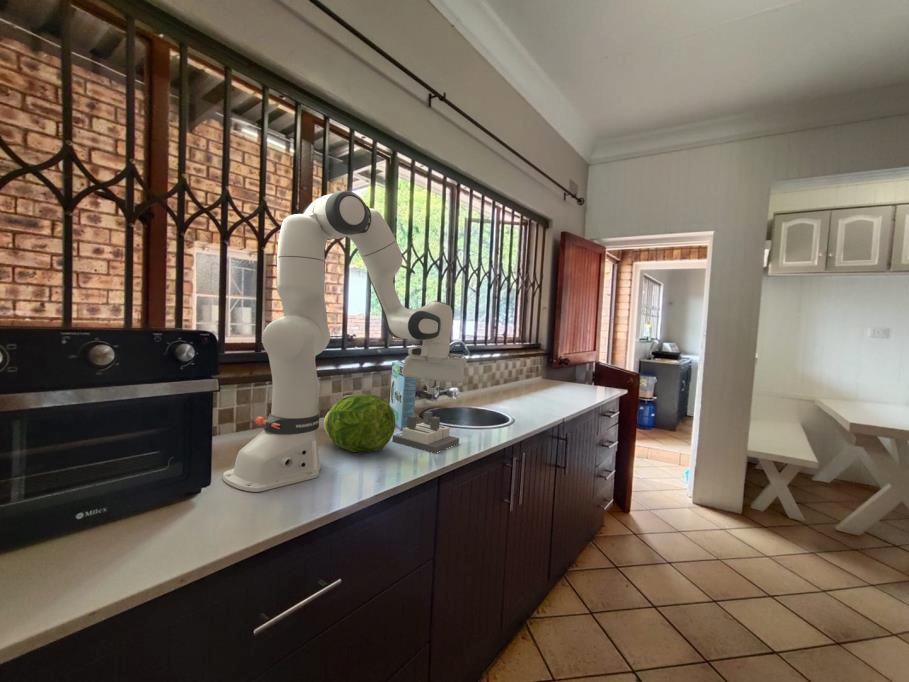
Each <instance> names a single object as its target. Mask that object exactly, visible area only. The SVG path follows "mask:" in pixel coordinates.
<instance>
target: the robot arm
mask: <svg viewBox="0 0 909 682" xmlns="http://www.w3.org/2000/svg"><path fill="white" fill-rule="evenodd" d="M303 209H304V210H303V211H302V213H297V214H296V213H295V214H291V215H289V216H287V217H285V218H284V219H283V221H282V223H281V226H280V231H279V236H278V242H277V243H278V244H277V256H276V258H277V261H276V291H277V292H276V293H277V294H278V296H279V298H280V302H281V307H282V311H283V316H280V317H277V318H276V319H274V320H273V321H271V322H270V323H268V324H267V325H266V327H265V328H264V330H263V332H262V337H261V341H262V346H263V348H264V350H265V352H266V354H267V356H268V361H269V367H270V372H271V379H272V391H271V392H272V393H271V394H272V395H271V408H270V409H271V412H270V413H269V414H268V417H267V418H266V417H263V416H259V415H258V416H257V417H256V418H255V420H254V423H255V424H256V425H259V426H261V427H263V430H261V431H260V432H259V433H258V434H257V435H256V436H255V437H253V438H252V440H250V441H249V442H248V443H246V444H245V445H244V446H242V448H241V449H240V450H239V451H238V452H237V455H236V458H235V463H234V467H233V468H232V469H228V470H225V471H224V472H223V475H222V479H223V481H224V482H225V483H226V484H228V485H229V486H231V487H233V488H236V489H239V490H242V491H246V492H251V493H253V492H255V493H258V492H263V491H268V490H272V489H276V488H279V487H280V488H281V487H284V486H288V485H292V484H295V483H296V484H297V483H300V482H304V481H309V480H311V479H316V478H319V475H320V473H319V471H320V470H321V468H322V464H321V460H320V455H319V454H320V453H319V447H318V446H319V445H318V429H319V427H320V412H319V400H320V388H321V387H320V385H321V383H320V380H319V378H318V372H317V366H316V356H318V355H319V354H321V353H323V351H324V350H325V349H326V348H327V346H328V345H329V343H330V341H331V332H330V329H329V323H328V314H327V307H326V301H325V298H326V297H325V248H326V245H327V242H328V241H330V240H334V239H335V240H339V239H343V238H348V239H349V240H351V241H352V242H353V244H354V245H355V247H356V249H357V251H358V253H359V256H360V257H361V260H362V262H363V263H364V265H365V268H366V270H367V272H368V276H369V280H370V283H371V286H372V289H373V291H374V293H375V295H376V298H377V300H378V303H379V305H380V307H381V309H382V313H383V319H384V326H385V329H386V331H387V333H388V335H390V336H391V337H392V338H394V339H406V340H411V341H422V345H417V346H412V347H410V348H408V352H407V353H408V355H407V356H406V357H405V358H404V362H403V363H404V365H403V370H402V375H403V376H404V377H410V378H416V379H419V380H420V379H422V380H424V381H423V382H424V385H425V387H426V394H431V395H436V394H437V389H438V388H439V386H440V384H441V382H449V383H457V384H461V383H463V381H464V380H465V379H464V378H465V376H464V375H465V368H466V367H467V361H468V360H467V358H466V357H465V356H464V355H463V354H462V353H451V352H450V347H451V339H450V337H451V334H452V333H451V332H452V328H453V309H452V307H451V305H450V304H448V303H445V302H443V301H438V300H437V301H436V300H431V301H429V302H428V303H427V304H426V305H423V306H421V307H417V308H416V309H415V308H407V307H405V306H404V305H403V304H402V303H401V300H400V298H399V295H398V292H397V290H396V287H395V285H394V277H395V276H396V274H398V272H399V271H400V269H401V267H402V265H403V261H404V260H403V255H402V252H401V248H400V245H399V244H398V242H397V239H396V237H395V235H394V234H393V232H392V230H391V228H390V226H389V225H388V223H387V222H386V220H385V219H384V217H383V215H381V213H380V212H379V210H377V209H375V208H372V207H371V208H370V207H369V206H368V205H367V204H366V203H365V201H364V200H363V199H362V198H361V196H359V195H358V194H357V193H355V192H353V191H349V190H337V191H334V192H333V193H330V194H325V195H321V196H320V197H318V198H317V199H315V200H313V201H310V202H309V203H308V205H306V207H305V208H303ZM430 380H431V381H435V386H434V387H430V384H429V383H430Z"/></svg>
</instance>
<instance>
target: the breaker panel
mask: <svg viewBox="0 0 909 682" xmlns="http://www.w3.org/2000/svg"><path fill="white" fill-rule="evenodd" d="M430 424H431V423H429V424H426V423H423V422H420V423H417V424H416V428H412V429H411V428H407V427H406V428H403V430H402V432H400V433H396V434H393V435H392V437H391V439H392V440H391V442H393V443H396V444H400V445H404V446H406V447H410V448H413V449H416V450H421V451H423V452H428V453H431V452H432V453H431V454H434V453H436V454H437V452H438V453H440V452H439V451H441V450H443V451H445V450H447V449H446V448H448V449H450V448H452V447H451V446H453V447H455V446H457V445H459V441H460V438H459V437H456V436H453V435H450V434H451V433H450V430H451V428H450V427H449V426H444V425H441V424H440V426H439V429H436V430H433V429H430ZM456 444H457V445H456ZM454 445H455V446H454ZM449 447H450V448H449ZM444 449H445V450H444ZM441 452H442V451H441Z"/></svg>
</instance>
